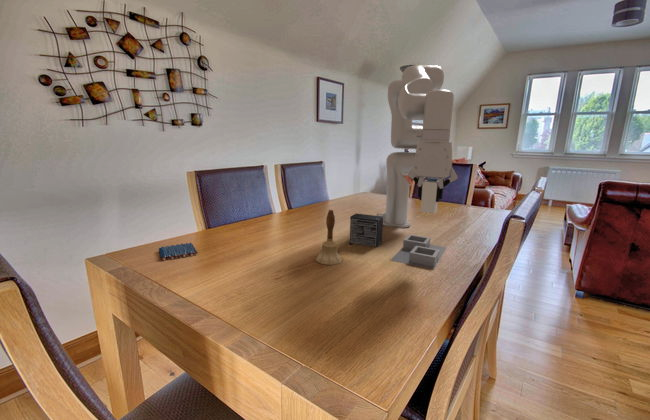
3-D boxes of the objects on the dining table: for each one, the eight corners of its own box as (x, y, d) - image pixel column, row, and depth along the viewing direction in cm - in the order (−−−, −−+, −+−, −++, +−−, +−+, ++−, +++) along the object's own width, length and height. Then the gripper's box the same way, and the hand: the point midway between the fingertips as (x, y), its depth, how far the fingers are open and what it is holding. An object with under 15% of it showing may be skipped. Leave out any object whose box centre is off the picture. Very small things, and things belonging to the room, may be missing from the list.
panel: (390, 262, 97) (390, 250, 96) (409, 242, 115) (409, 233, 115) (433, 272, 90) (435, 259, 90) (446, 249, 109) (447, 239, 108)
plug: (420, 211, 93) (423, 178, 91) (423, 209, 96) (426, 177, 94) (434, 213, 91) (437, 179, 89) (436, 211, 94) (440, 178, 92)
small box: (382, 244, 114) (384, 215, 111) (377, 249, 108) (379, 220, 106) (354, 239, 118) (356, 212, 116) (348, 244, 112) (349, 216, 110)
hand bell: (345, 257, 101) (347, 208, 97) (337, 266, 93) (339, 214, 89) (321, 253, 103) (321, 206, 100) (311, 262, 96) (312, 211, 92)
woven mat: (198, 256, 100) (198, 250, 99) (161, 263, 94) (160, 256, 94) (193, 246, 109) (192, 241, 108) (158, 252, 103) (157, 246, 103)
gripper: (402, 136, 90) (398, 199, 94) (466, 137, 82) (458, 206, 86) (409, 136, 96) (405, 196, 100) (469, 137, 88) (461, 201, 92)
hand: (429, 199), depth 93 cm, fingers closed on plug, 4 cm apart
